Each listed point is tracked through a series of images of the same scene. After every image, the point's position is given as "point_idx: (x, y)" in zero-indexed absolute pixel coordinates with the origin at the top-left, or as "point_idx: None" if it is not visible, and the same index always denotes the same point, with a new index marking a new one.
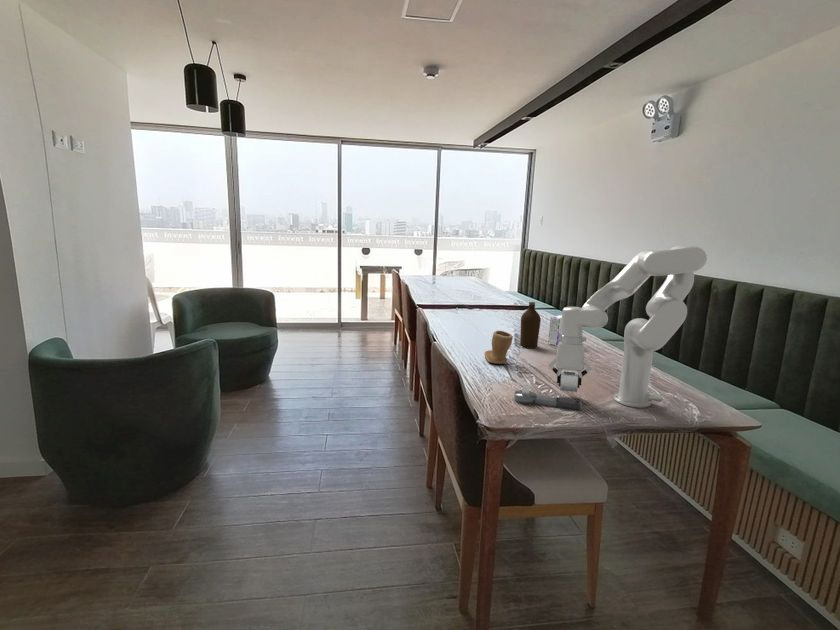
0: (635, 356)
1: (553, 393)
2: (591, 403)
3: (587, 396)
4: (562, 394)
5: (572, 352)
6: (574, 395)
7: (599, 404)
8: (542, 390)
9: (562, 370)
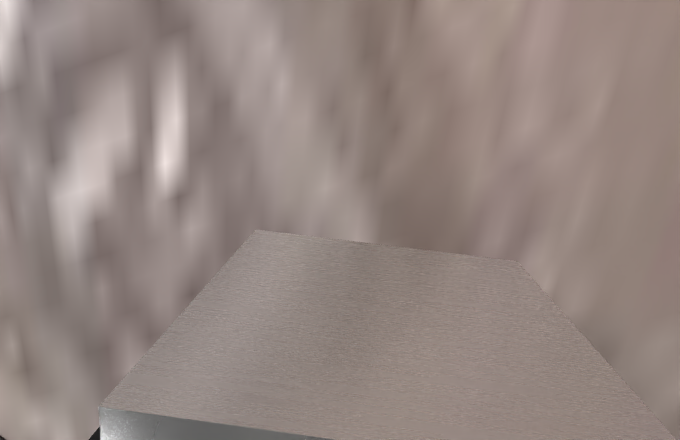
0: None
1: (204, 229)
2: None
3: (618, 211)
4: (311, 231)
5: None
6: (456, 223)
7: (673, 416)
8: (67, 160)
9: (145, 419)
